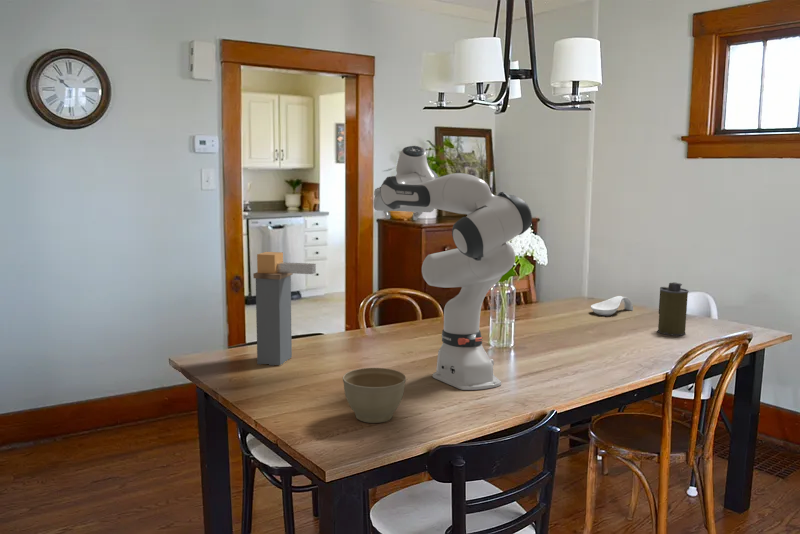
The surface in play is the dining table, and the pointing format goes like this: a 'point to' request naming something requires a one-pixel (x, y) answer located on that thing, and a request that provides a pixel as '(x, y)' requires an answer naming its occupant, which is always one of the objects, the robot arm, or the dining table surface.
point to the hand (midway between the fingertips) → (401, 218)
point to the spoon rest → (611, 305)
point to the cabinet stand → (273, 317)
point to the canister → (672, 310)
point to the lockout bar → (281, 264)
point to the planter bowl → (374, 393)
